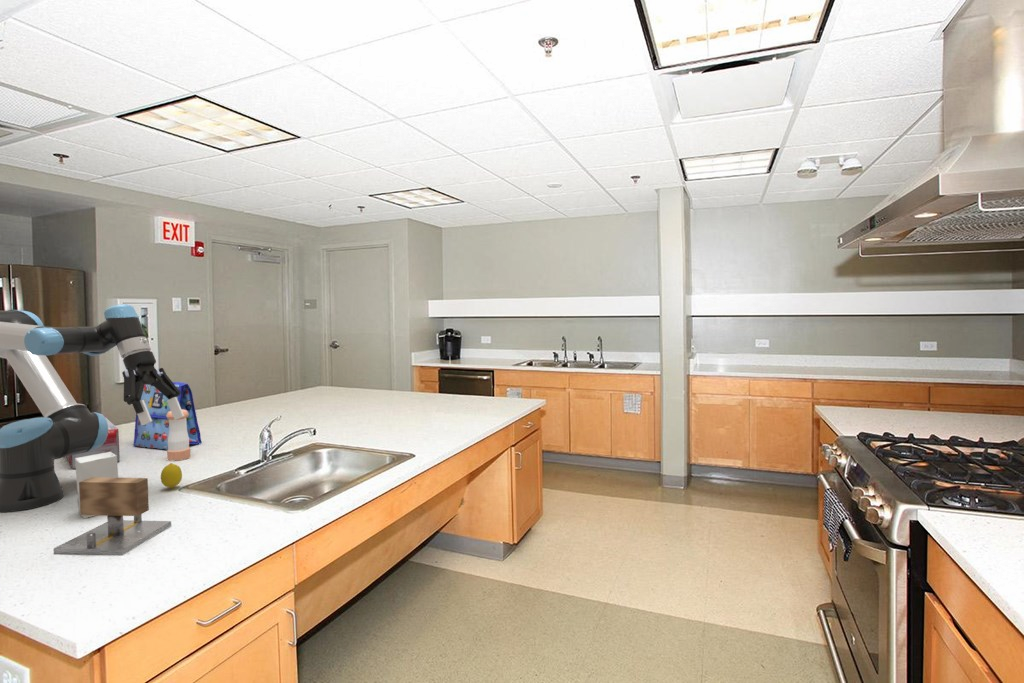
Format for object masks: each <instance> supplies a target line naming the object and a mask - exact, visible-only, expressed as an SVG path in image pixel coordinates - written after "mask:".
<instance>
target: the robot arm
mask: <svg viewBox="0 0 1024 683" xmlns="http://www.w3.org/2000/svg"><path fill="white" fill-rule="evenodd" d="M103 314H104V319H105V320H104V321H102V322H101V323H99V324H98V325H95V326H70V327H69V326H68V327H66V326H64V327H62V326H61V327H60V326H58V327H55V326H47V325H44V323H43V321H42V320H41V318H40V317H39V316H38V315H36V314H34V313H33V312H31V311H27V310H18V309H9V310H0V358H1V359H5V360H7V361H8V363H9V365H10V367H12V369H13V371H14V373H15V374H16V375H17V377H18V379H19V381H21V382H20V383H22V385H23V387H24V388H25V389H26V391H27V392H28V395H30V398H32V401H33V402H34V404H35V405H36V406H37V408H38V410H39V411H40V413H41V415H42V416H43V417H42V416H41V417H33V418H29V419H28V418H27V419H21V420H17V421H15V422H14V421H13V422H10V423H8V424H6V425H3V426H2V427H0V513H1V512H3V513H5V512H17V511H24V510H29V509H33V508H34V509H35V508H39V507H43V506H46V505H50V504H52V503H53V504H54V502H57V501H60V500H61V499H62V498H64V494H65V493H64V488H63V486H62V485H61V483H60V481H59V478H58V476H57V474H56V471H55V460H59V459H63V458H67V456H71V455H75V454H79V453H85V452H88V451H90V450H94V449H97V448H99V447H100V446H102V445H103V443H104V442H105V441H106V438H107V436H108V423H107V420H106V418H107V417H106V416H105V415H104V414H103V413H99V412H95V411H94V412H91V411H90V410H89V409H88V407H87V405H86V404H83V403H79V402H78V403H77V401H76V400H75V398H74V396H73V395H72V393H71V392H70V391H69V389H68V388H67V386H66V384H65V383H64V381H63V380H62V378H61V376H60V374H58V371H56V368H55V367H54V366H53V364H52V362H50V360H49V358H48V356H53V355H65V354H76V353H77V354H81V353H83V354H84V355H87V356H89V357H90V356H91V357H97V356H100V355H102V354H106V352H109V351H110V350H112V349H113V348H115V347H116V348H117V351H118V353H119V355H120V357H121V358H122V359H123V360H122V362H123V364H124V366H125V369H126V370H124V371H122V372H121V373H122V377H123V401H124V403H126V404H127V405H129V406H130V405H132V406H133V410H134V413H135V414H136V413H137V415H138V417H139V420H140V422H141V425H145V424H147V423H149V422H152V419H151V417H150V414H149V412H148V409H147V407H146V404H145V402H144V400H141V397H142V393H143V389H144V385H145V384H147V385H151V386H154V387H155V388H157V389H158V390H159V391H160V392H161V393H162V394H163V395H164V396H166V397H167V398H168V399H169V400H167V402H168V405H169V407H170V410H171V412H172V415H173V417H174V420H177V419H179V418H181V417H183V416H184V414H183V412H182V409H181V407H180V404H179V401H178V399H177V396H180V394H181V392H180V391H179V390H178V388H177V387H176V386H175V385H174V383H173V382H174V381H172V379H171V378H170V377H169V376H168V375H167V373H166V371H165V369H164V368H163V367H160V368H158V369H156V367H155V365H156V363H157V360H156V358H155V355H154V352H153V351H151V349H152V348H151V346H150V343H149V341H148V339H147V335H146V332H145V331H144V328H143V326H142V324H141V321H140V317H139V316H138V314H137V311H136V309H135V307H134V306H133V305H131V304H126V303H124V304H123V303H122V304H116V305H112V306H110V307H108V308H106V309H105V310H104V312H103ZM140 400H141V401H140ZM102 414H103V415H104V416H105V417H106V418H105V417H104V416H103V415H102Z"/></svg>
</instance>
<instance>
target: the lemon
mask: <svg viewBox="0 0 1024 683" xmlns="http://www.w3.org/2000/svg"><path fill="white" fill-rule="evenodd" d="M182 479H183V472H182V469H181V467H180V465H178V464H175V463H172V462H171V463H169V464H167V465H166V466H164V467H163V468H162V470H161V473H160V481H161V483H162V485H163V486H164V487H167V488H169V489H174V488H175V487H177V486H178V485H179V484H180V482H181V481H182Z"/></svg>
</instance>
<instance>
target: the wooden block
mask: <svg viewBox="0 0 1024 683" xmlns="http://www.w3.org/2000/svg"><path fill="white" fill-rule="evenodd" d="M79 492H80V514H81V515H96V516H107V515H108V516H123V517H134V516H139V515H143V514H145V513H147V512H148V511H149V510H150V505H149V480H148V477H118V478H108V477H91V478H89V479H86V480H83V481H81V482H79ZM80 514H79V515H80ZM81 515H80V516H81Z"/></svg>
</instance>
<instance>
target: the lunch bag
mask: <svg viewBox="0 0 1024 683" xmlns="http://www.w3.org/2000/svg"><path fill="white" fill-rule="evenodd" d="M172 382H173V383H174V385H175V386H176V387H177V388H178V390H179V391H180V392H181V394H180V396H177V399H178V401H179V404H180V407H181V409H184V410H187V412H188V413H189V415H188V417H187V418H186V421H187V432H188V437H189V445H199V444H198V443H201V444H202V438H201V436H202V435H201V430H200V426H199V423H198V416H197V412H196V408H195V403H194V395H193V391H192V389H191V387H190V385H189V384H188V383H187V382H186V383H185V382H179V381H177V382H175V381H172ZM141 400H144V402H145V404H146V407H147V409H148V412H149V414H150V417H151V419H152V422H149V423H147V424H145V425H141V422H140V420H139V417H138V415H137V413H136V412H135V425H134V435H133V444H132V446H133V447H139V448H145V447H147V448H146V449H153V448H157V449H156V450H162V449H166V450H165V451H167V450H168V436H169V419H167V417H166V415H167V413H168V412H169V411H171V410H170V407H169V405H168V402H167V400H169V399H168V398H167V397H166V396H164V395H163V394H162V393H161V392H160V391H159V390H158V389H157V388H155V387H154V386H151V385H147V384H145V385H144V389H143V393H142V397H141ZM141 400H140V401H141Z"/></svg>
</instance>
